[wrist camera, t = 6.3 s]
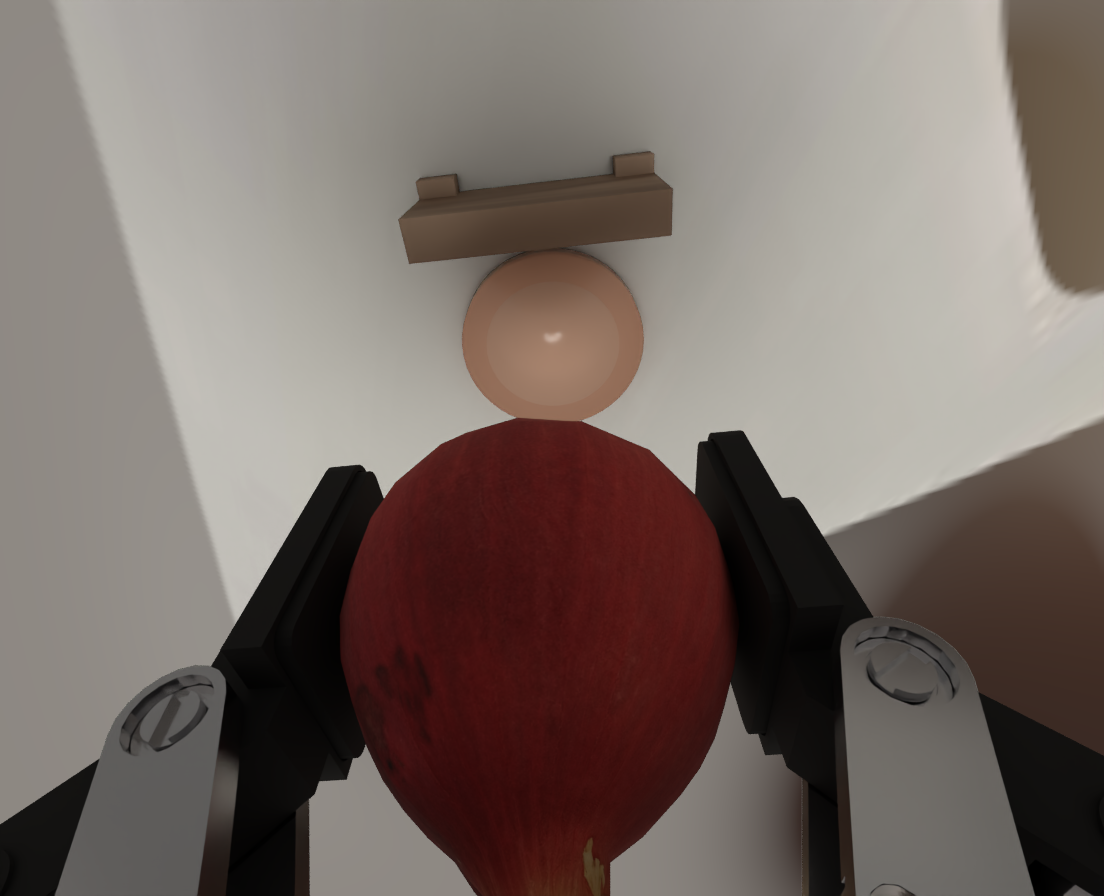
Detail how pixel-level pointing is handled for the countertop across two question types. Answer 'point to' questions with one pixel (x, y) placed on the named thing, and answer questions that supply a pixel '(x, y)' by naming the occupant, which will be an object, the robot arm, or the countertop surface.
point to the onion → (538, 650)
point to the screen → (537, 213)
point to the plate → (552, 336)
